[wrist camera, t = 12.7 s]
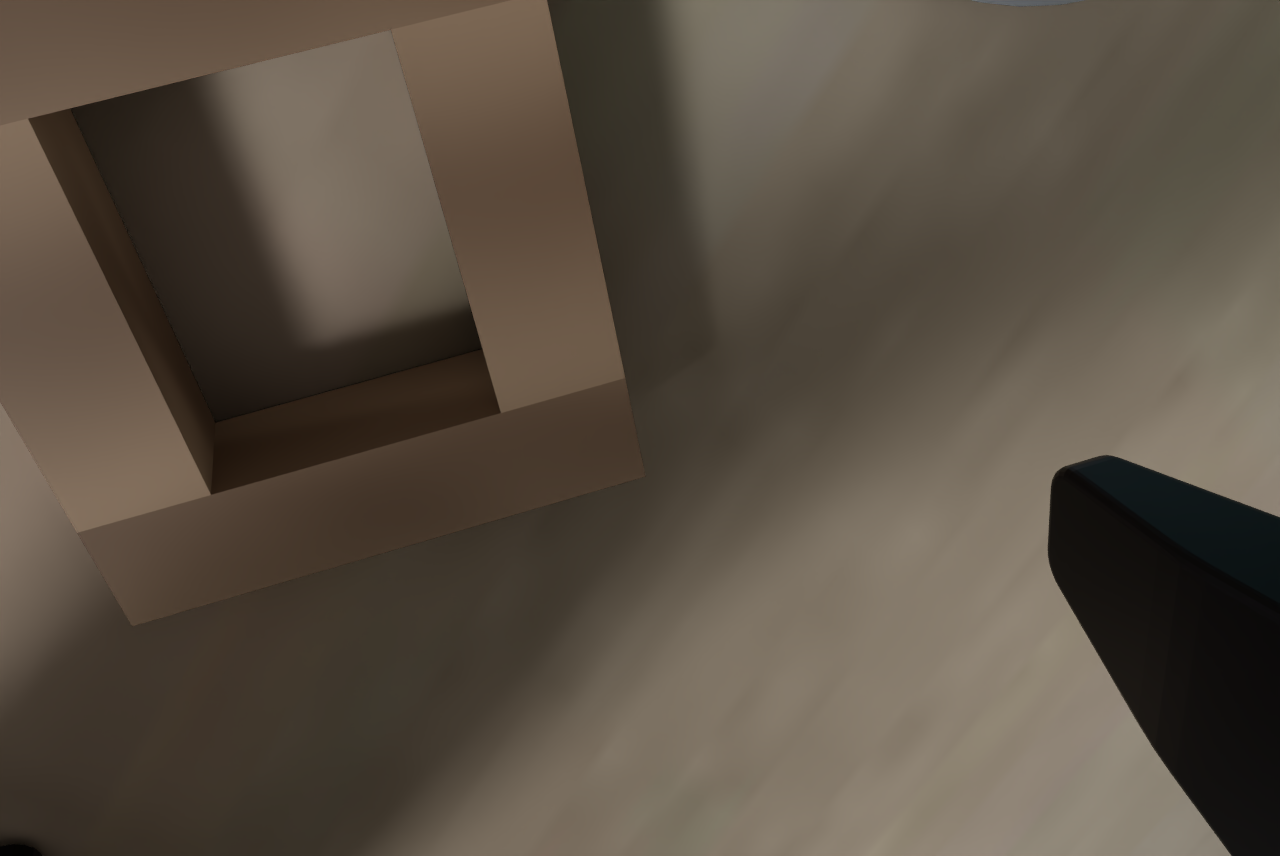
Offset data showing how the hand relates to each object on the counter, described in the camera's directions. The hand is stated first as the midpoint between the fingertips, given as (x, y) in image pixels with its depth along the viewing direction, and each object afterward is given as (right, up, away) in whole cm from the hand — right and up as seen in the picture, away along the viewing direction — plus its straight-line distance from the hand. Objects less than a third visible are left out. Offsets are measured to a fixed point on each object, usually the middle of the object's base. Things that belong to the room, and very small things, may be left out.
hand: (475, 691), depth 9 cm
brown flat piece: (-4, +5, +10) cm, 12 cm away
